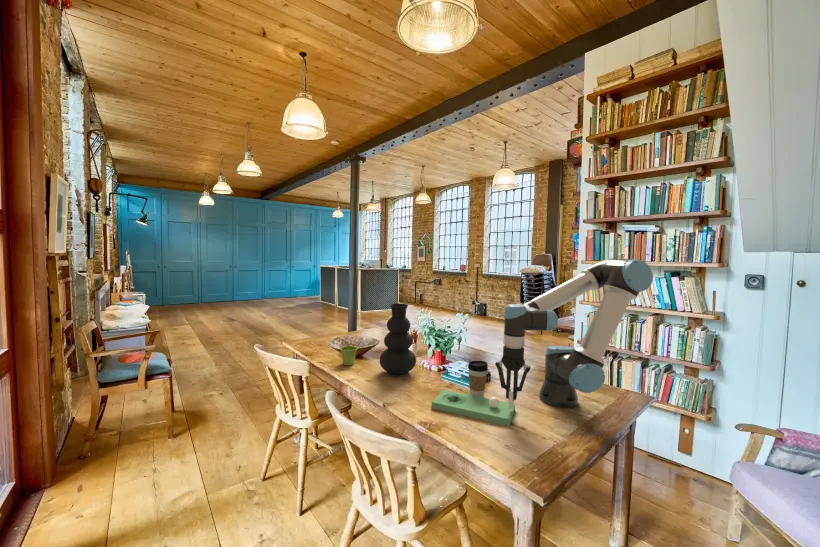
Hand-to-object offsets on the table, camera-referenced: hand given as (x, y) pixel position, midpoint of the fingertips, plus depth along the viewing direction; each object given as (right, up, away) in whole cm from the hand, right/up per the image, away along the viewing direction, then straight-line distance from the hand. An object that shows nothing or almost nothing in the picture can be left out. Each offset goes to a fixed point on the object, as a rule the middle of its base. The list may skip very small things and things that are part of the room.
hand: (510, 407), depth 131 cm
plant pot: (-71, +1, +57) cm, 91 cm away
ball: (-6, +1, +3) cm, 6 cm away
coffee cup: (-9, -3, +19) cm, 21 cm away
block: (-13, -3, +6) cm, 15 cm away
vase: (-44, 0, +44) cm, 63 cm away
